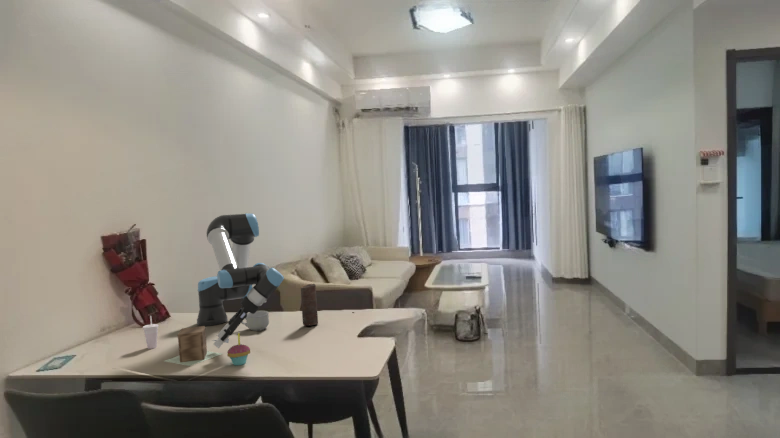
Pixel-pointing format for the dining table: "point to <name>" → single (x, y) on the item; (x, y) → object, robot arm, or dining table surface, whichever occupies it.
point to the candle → (309, 305)
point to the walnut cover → (192, 344)
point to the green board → (189, 363)
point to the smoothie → (151, 334)
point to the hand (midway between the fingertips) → (217, 341)
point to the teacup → (257, 320)
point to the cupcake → (238, 353)
